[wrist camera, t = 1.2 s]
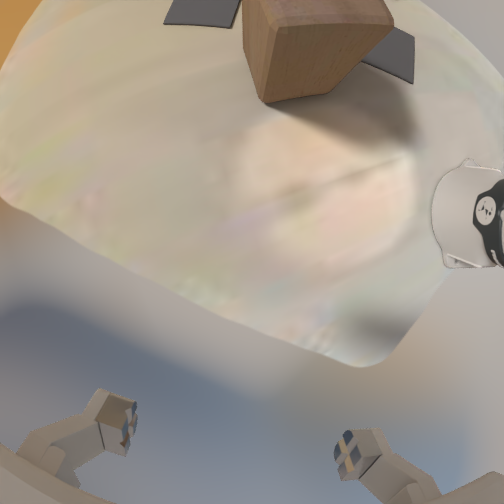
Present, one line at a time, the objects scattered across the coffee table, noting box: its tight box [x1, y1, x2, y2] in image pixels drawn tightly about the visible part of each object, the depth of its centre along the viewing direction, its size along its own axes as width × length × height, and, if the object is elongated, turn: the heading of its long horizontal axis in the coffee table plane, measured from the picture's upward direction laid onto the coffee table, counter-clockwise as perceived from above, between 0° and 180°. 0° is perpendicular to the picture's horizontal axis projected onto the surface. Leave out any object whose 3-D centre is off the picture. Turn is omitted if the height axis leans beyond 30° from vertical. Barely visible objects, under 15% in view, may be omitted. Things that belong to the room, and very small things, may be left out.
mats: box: [163, 0, 414, 84], centre depth 29 cm, size 38×10×1 cm, turn 78°
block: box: [242, 0, 394, 103], centre depth 22 cm, size 10×10×20 cm
